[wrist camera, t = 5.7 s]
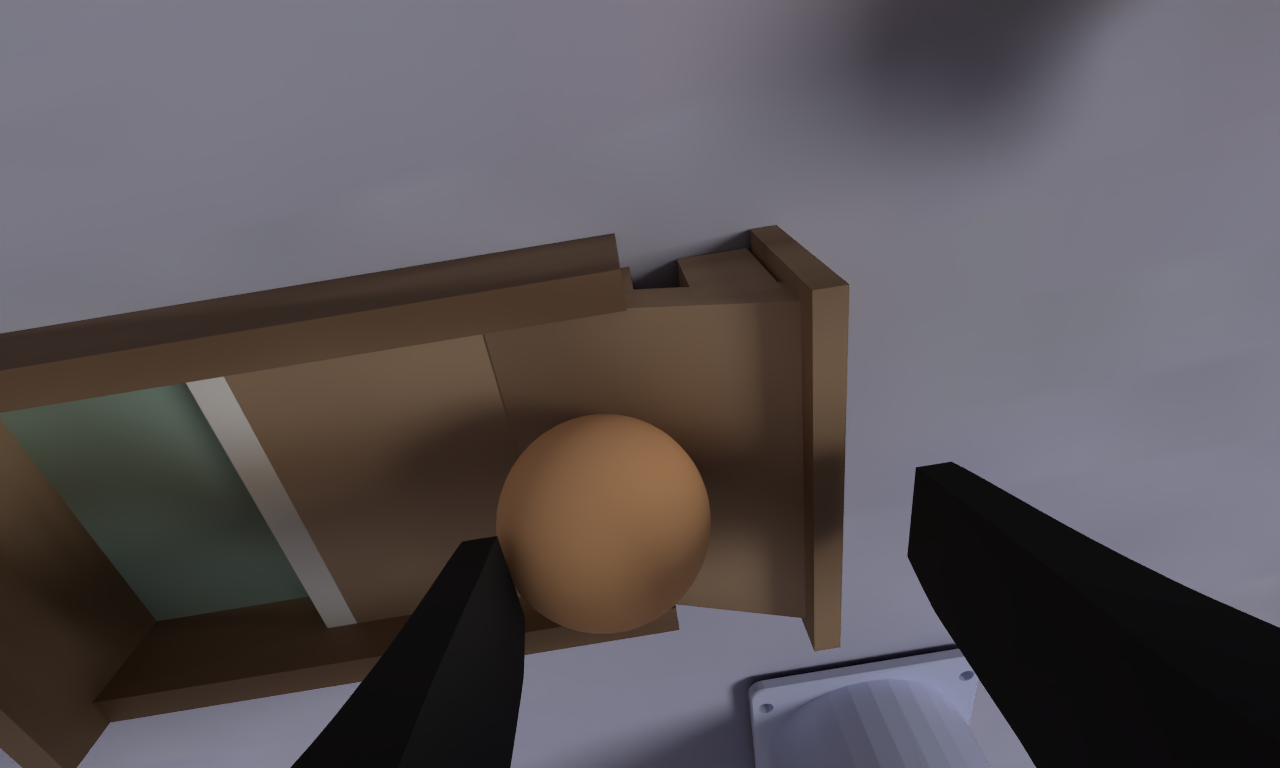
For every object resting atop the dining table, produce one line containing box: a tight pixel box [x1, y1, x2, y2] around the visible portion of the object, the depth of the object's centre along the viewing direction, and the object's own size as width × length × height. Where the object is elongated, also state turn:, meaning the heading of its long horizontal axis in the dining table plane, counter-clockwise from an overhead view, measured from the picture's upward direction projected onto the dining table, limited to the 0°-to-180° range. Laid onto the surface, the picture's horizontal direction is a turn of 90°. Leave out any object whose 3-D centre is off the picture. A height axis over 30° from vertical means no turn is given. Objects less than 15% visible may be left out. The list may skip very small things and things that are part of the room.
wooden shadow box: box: [0, 225, 849, 768], centre depth 13 cm, size 10×19×4 cm, turn 98°
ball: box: [496, 414, 711, 634], centre depth 11 cm, size 4×4×4 cm
